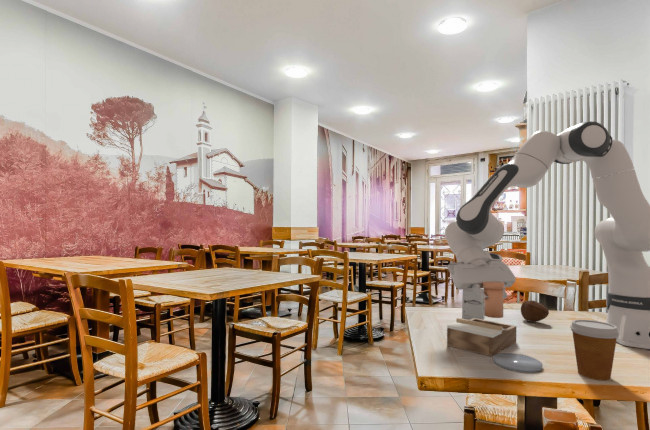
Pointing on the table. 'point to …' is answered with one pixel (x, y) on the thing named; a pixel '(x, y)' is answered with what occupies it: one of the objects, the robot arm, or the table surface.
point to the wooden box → (483, 339)
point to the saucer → (518, 362)
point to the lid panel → (476, 327)
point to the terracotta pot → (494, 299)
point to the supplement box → (472, 305)
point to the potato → (533, 311)
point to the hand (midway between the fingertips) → (495, 298)
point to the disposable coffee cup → (594, 348)
